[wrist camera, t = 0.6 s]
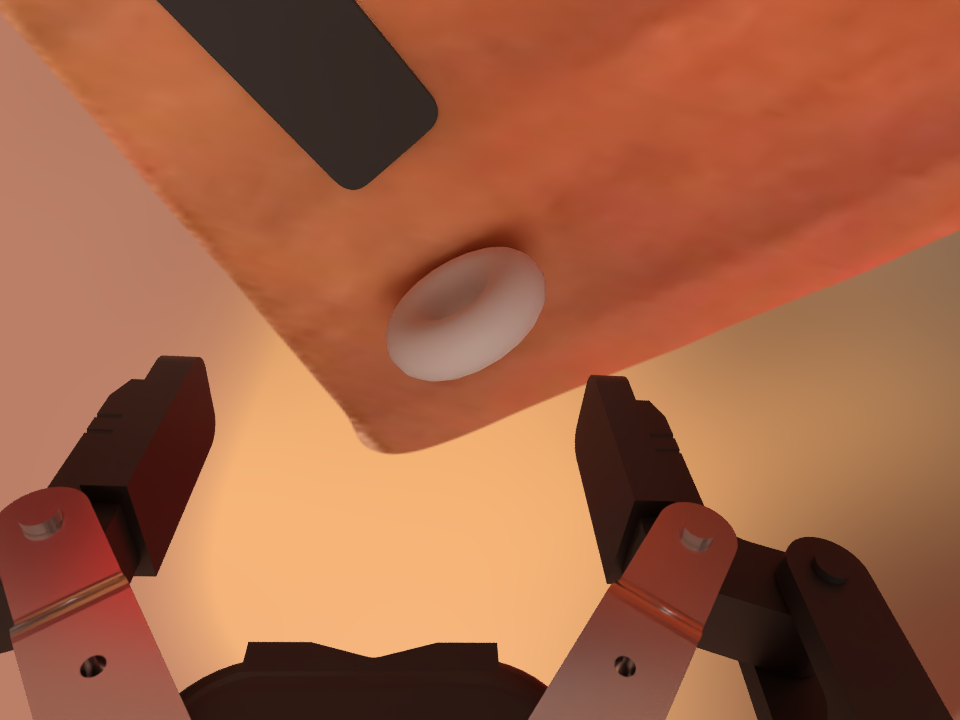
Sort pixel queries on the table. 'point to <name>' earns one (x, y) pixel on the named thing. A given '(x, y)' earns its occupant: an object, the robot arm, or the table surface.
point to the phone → (318, 77)
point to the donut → (466, 314)
